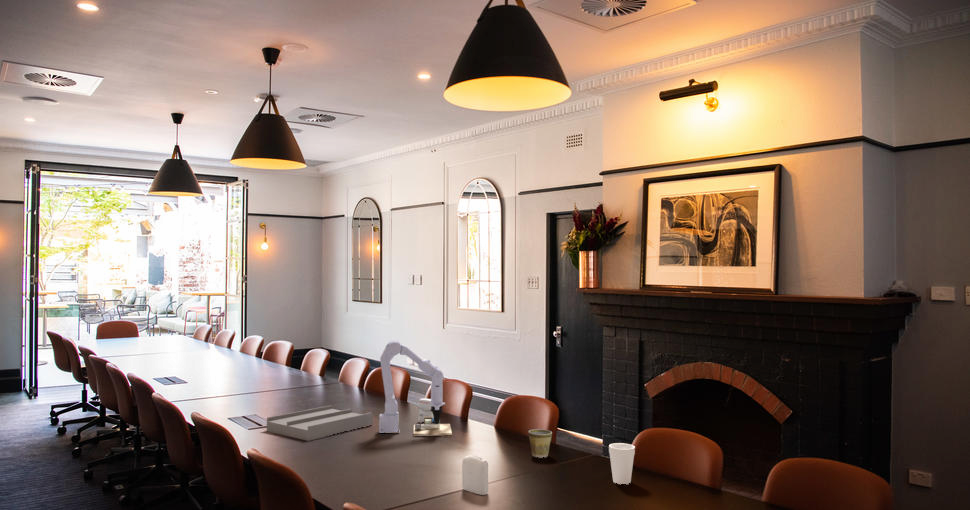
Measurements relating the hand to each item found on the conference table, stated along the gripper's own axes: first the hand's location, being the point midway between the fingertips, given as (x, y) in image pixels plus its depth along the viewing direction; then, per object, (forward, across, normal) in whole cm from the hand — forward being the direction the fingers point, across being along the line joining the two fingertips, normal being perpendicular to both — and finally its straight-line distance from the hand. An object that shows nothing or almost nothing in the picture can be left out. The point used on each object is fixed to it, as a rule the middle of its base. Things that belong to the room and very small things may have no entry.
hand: (436, 422), depth 316 cm
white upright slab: (+5, -92, -11) cm, 93 cm away
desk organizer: (+5, +10, +57) cm, 58 cm away
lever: (+3, -2, +5) cm, 6 cm away
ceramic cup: (+5, -46, -43) cm, 63 cm away
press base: (+4, -1, +2) cm, 5 cm away
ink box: (+5, +20, +4) cm, 21 cm away
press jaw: (+3, +1, +4) cm, 5 cm away
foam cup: (+5, -85, -66) cm, 108 cm away
